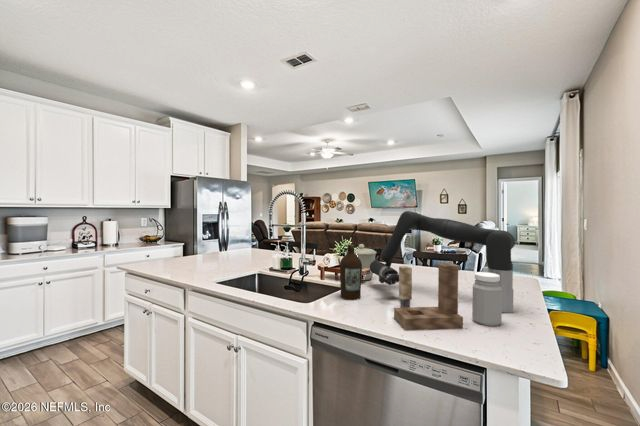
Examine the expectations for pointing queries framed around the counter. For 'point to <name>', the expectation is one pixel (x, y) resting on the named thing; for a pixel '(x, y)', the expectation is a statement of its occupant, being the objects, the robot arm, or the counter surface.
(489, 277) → the jar
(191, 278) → the counter surface
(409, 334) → the counter surface
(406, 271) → the beige wooden post
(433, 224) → the robot arm
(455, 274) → the brown wooden stand
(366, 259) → the canister
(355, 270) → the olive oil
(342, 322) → the counter surface
